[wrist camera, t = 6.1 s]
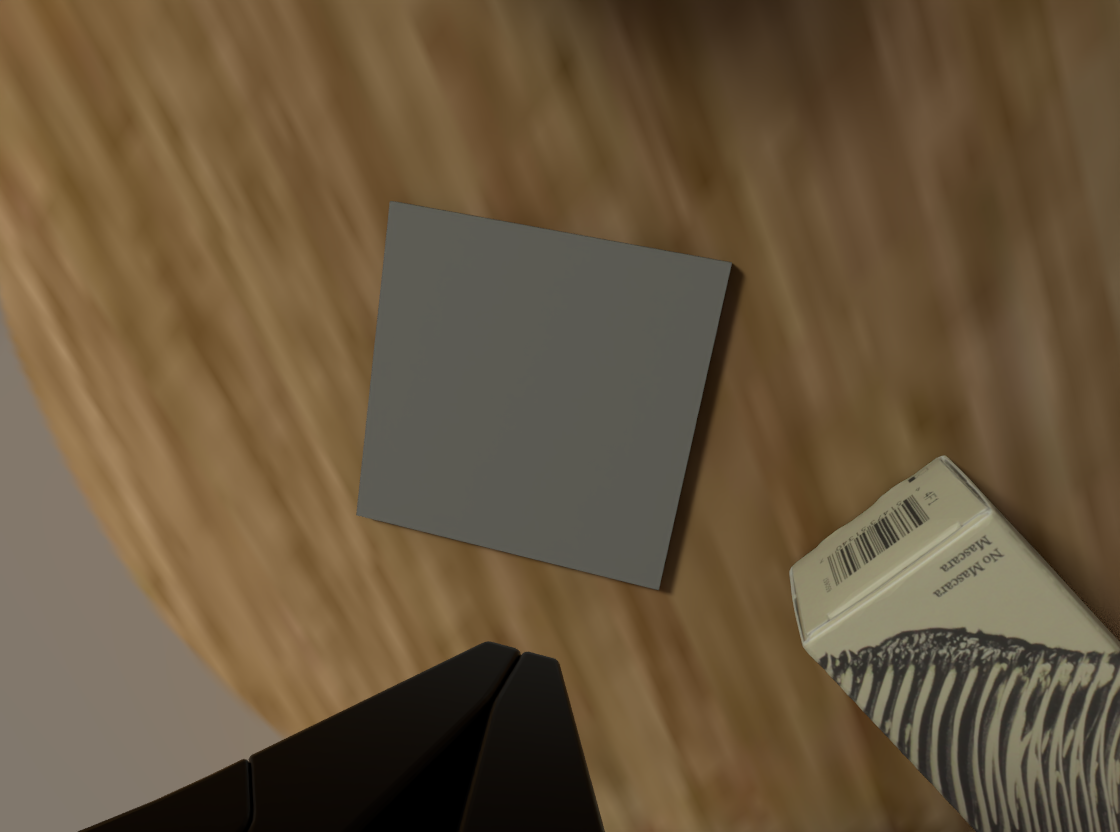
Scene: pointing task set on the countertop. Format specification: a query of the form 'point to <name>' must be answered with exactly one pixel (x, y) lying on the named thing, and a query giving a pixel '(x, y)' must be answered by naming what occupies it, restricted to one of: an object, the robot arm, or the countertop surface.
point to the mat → (536, 389)
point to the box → (969, 656)
